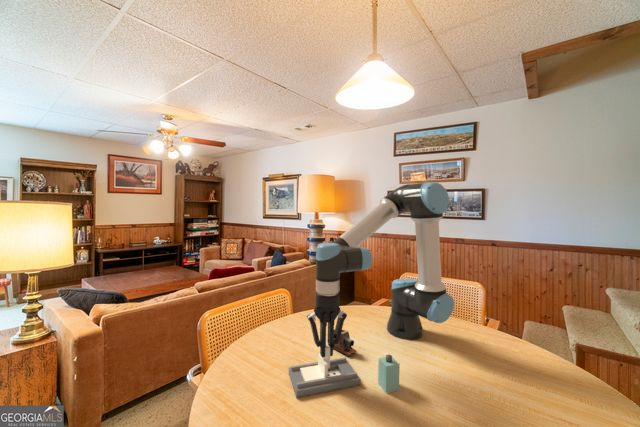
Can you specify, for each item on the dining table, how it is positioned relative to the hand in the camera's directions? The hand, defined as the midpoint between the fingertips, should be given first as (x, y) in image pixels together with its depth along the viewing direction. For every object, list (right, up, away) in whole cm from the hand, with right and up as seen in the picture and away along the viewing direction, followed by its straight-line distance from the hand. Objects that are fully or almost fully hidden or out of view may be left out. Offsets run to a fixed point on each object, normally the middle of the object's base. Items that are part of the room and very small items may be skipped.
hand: (326, 366), depth 86 cm
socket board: (-1, -4, 0) cm, 4 cm away
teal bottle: (+19, -4, -3) cm, 20 cm away
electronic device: (+7, -4, +17) cm, 19 cm away
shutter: (-4, -2, -1) cm, 5 cm away
